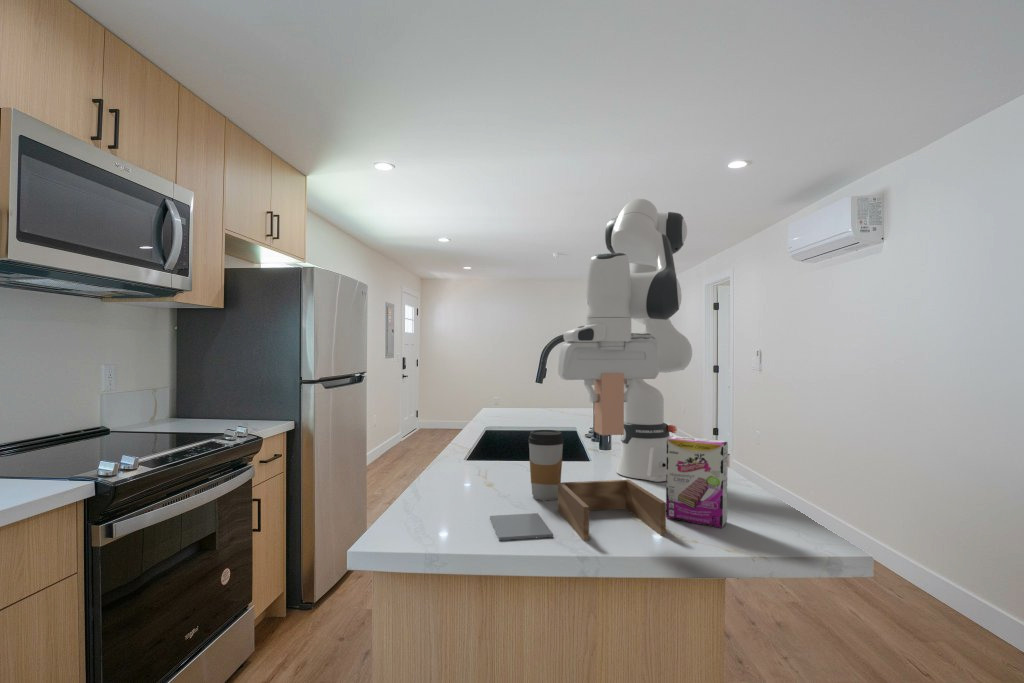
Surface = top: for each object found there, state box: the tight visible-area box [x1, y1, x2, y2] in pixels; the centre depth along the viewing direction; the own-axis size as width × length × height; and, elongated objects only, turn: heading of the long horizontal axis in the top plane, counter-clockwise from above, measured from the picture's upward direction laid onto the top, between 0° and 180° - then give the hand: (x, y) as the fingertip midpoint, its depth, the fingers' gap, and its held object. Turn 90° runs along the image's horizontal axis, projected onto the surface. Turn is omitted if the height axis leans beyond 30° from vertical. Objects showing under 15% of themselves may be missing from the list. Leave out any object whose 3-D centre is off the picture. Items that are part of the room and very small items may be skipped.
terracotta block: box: [593, 373, 624, 436], centre depth 103 cm, size 4×4×12 cm
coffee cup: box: [528, 429, 564, 501], centre depth 120 cm, size 8×8×15 cm
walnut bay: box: [557, 479, 667, 541], centre depth 103 cm, size 16×17×6 cm
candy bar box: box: [665, 435, 729, 529], centre depth 104 cm, size 11×5×16 cm, turn 58°
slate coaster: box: [489, 512, 554, 541], centre depth 100 cm, size 10×12×1 cm
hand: (608, 402), depth 103 cm, fingers closed on terracotta block, 4 cm apart
